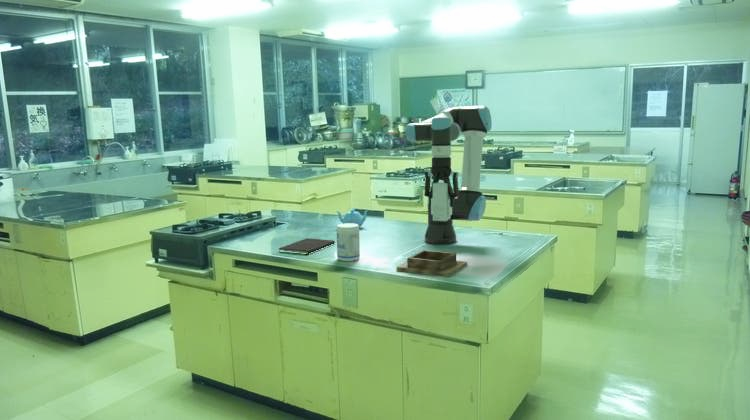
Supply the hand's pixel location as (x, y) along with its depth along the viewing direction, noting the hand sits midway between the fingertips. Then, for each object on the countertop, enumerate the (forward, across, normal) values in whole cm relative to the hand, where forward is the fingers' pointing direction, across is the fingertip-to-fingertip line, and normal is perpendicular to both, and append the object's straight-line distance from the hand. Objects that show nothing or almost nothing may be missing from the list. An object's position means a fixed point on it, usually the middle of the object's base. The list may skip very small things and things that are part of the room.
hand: (441, 214), depth 216 cm
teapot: (+19, -73, +49) cm, 90 cm away
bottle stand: (+20, 0, -9) cm, 22 cm away
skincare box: (+2, 0, 0) cm, 2 cm away
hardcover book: (+20, -67, 0) cm, 70 cm away
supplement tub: (+20, -38, -10) cm, 44 cm away
